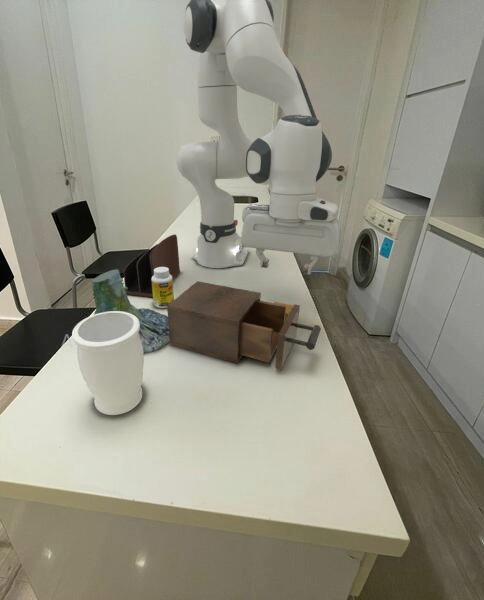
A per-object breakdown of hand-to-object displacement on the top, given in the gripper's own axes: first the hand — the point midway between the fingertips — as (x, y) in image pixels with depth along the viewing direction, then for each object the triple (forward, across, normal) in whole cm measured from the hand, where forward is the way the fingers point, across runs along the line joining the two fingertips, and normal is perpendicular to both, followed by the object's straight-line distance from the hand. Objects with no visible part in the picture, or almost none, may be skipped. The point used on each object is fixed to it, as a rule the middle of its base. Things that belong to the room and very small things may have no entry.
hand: (285, 270), depth 73 cm
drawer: (+13, 0, -12) cm, 18 cm away
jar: (+14, -19, -37) cm, 44 cm away
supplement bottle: (+14, -31, -3) cm, 34 cm away
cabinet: (+14, -12, -12) cm, 22 cm away
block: (+14, 0, 0) cm, 14 cm away
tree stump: (+14, -30, -19) cm, 38 cm away
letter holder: (+14, -41, +8) cm, 44 cm away
